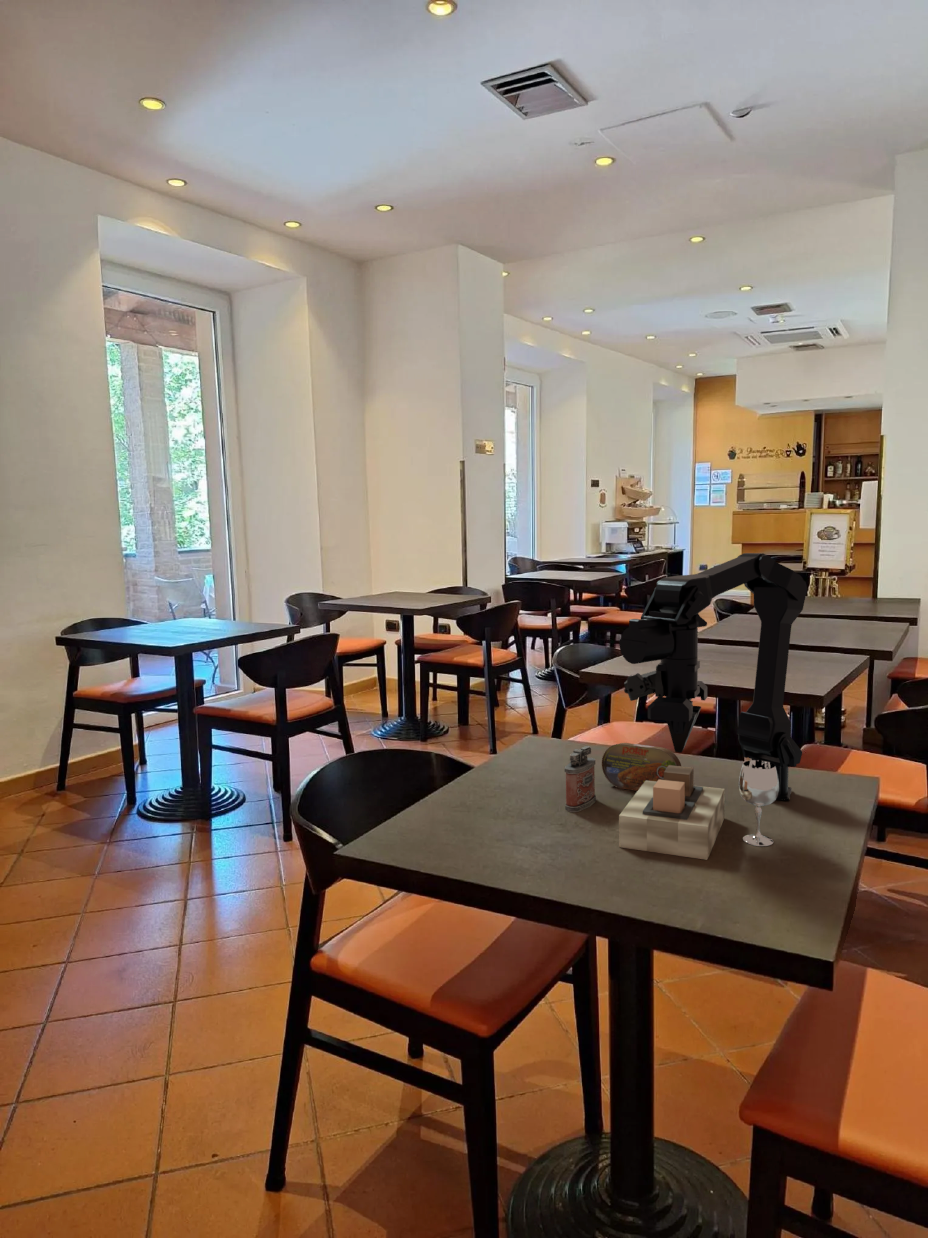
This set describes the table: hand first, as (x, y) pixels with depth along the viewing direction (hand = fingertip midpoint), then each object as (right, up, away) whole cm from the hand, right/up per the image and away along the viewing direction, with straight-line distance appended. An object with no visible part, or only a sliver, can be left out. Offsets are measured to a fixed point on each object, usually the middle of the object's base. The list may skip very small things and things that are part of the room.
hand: (678, 752), depth 131 cm
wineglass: (+10, -13, -7) cm, 18 cm away
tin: (-2, -10, +19) cm, 22 cm away
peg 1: (0, -8, +1) cm, 8 cm away
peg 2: (-3, -9, -6) cm, 12 cm away
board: (-1, -12, -2) cm, 13 cm away
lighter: (-14, -11, +12) cm, 22 cm away
